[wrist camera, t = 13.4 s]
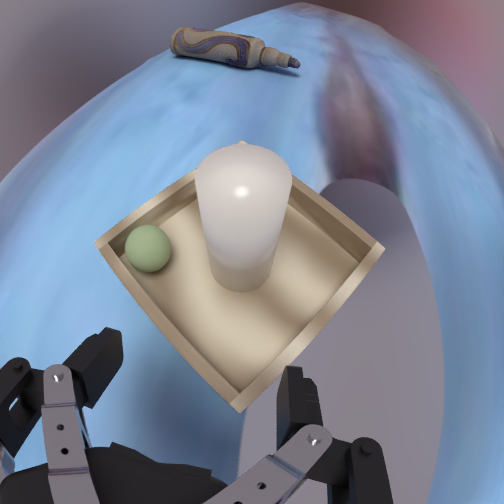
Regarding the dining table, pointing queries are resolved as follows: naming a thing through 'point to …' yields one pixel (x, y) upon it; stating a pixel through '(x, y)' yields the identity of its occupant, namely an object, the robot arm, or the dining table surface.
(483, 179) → the dining table surface
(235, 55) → the decorative bottle
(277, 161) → the white dome-topped cylinder
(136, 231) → the green ball
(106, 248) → the tray
